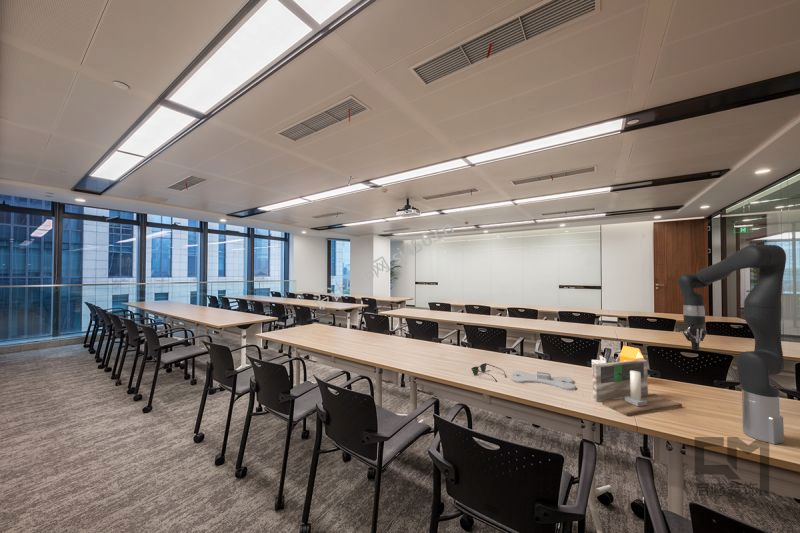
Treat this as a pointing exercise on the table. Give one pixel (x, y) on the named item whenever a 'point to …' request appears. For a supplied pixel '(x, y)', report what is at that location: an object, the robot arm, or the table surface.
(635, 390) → the white cylinder on base
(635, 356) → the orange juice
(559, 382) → the holder
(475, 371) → the sunglasses
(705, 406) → the table surface
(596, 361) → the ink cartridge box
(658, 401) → the base
